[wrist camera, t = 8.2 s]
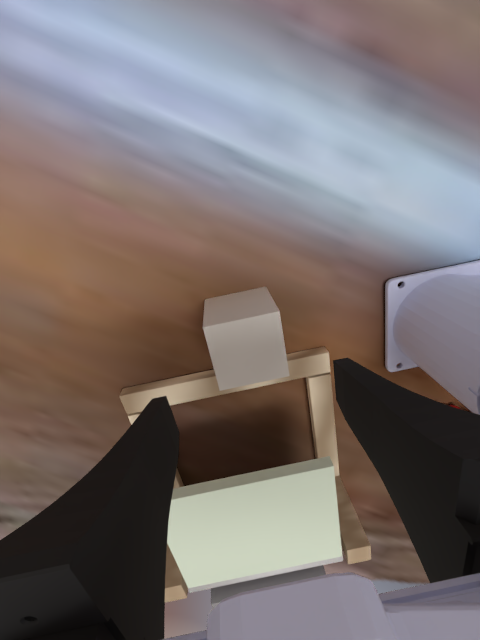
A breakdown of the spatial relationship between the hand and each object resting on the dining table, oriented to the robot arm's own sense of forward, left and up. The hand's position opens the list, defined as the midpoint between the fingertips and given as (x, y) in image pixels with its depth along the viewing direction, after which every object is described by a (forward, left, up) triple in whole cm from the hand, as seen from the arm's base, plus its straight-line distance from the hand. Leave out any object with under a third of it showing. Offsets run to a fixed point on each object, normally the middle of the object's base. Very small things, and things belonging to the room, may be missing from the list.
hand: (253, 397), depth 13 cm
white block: (0, +1, -10) cm, 11 cm away
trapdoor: (+2, +16, -5) cm, 16 cm away
